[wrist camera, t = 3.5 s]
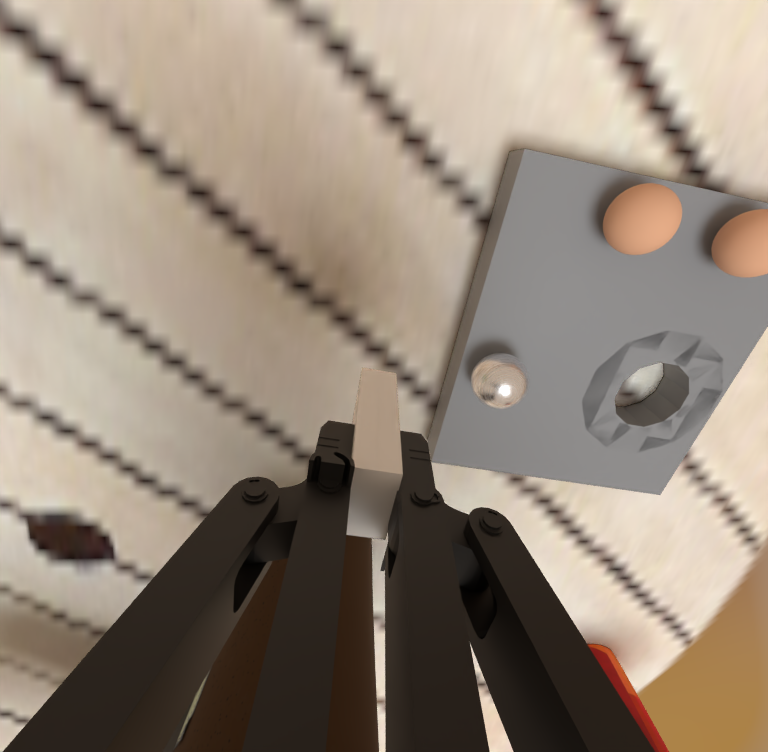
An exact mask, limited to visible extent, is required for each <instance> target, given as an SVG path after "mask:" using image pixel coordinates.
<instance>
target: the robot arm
mask: <svg viewBox="0 0 768 752" xmlns="http://www.w3.org/2000/svg"><path fill="white" fill-rule="evenodd" d="M430 461H431V459H430V454H429V447H428V443H427V441H426V440H425V438H424V437H423V436H422V434H418V433H412V432H405V431H400V423H399V408H398V393H397V378H396V373H392V372H386V371H380V370H374V369H368V368H362V371H361V377H360V382H359V388H358V393H357V399H356V404H355V410H354V415H353V421H352V424H348V423H341V422H335V421H328V422H327V423H325V424H324V425H323V426H322V427H321V430H320V434H319V438H318V443H317V447H316V451H315V453H314V454H313V455H312V456H311V458H310V460H309V467H308V475H307V479H306V480H305V481H303V482H302V483H300V484H298V485H296V486H292V487H286V488H278V486H277V485H276V484H275V483H274V482H273V481H271V480H269V479H267V478H262V477H250V478H246V479H244V480H241V481H239V482H238V483H237V484H235V485H234V486H233V487H232V488H231V489H230V490H229V492H228V493H227V494H226V495H225V496H224V497H223V499H222V500H221V501H220V502H219V503H218V504H217V505H216V507H215V508H214V509H213V510H212V511H211V512H210V514H209V515H208V516H207V517H206V518H205V519H204V520H203V522H202V523H201V524H200V525H199V526H198V527H197V528H196V530H195V531H194V532H193V533H192V534H191V535H190V537H189V538H188V539H187V540H186V541H185V542H184V543H183V545H182V546H181V547H180V548H179V549H178V550H177V552H176V553H175V554H174V555H173V556H172V557H171V558H170V560H169V561H168V562H167V563H166V564H165V565H164V567H163V568H162V569H161V570H160V571H159V572H158V573H157V575H156V576H155V577H154V578H153V579H152V580H151V582H150V583H149V584H148V585H147V586H146V587H145V588H144V590H143V591H142V592H141V593H140V594H139V595H138V596H137V598H136V599H135V600H134V601H133V602H132V603H131V605H130V606H129V607H128V608H127V609H126V610H125V611H124V613H123V614H122V615H121V616H120V617H119V618H118V620H117V621H116V622H115V623H114V624H113V625H112V626H111V628H110V629H109V630H108V631H107V632H106V633H105V635H104V636H103V637H102V638H101V639H100V640H99V641H98V643H97V644H96V645H95V646H94V647H93V648H92V650H91V651H90V652H89V653H88V654H87V655H86V656H85V658H84V659H83V660H82V661H81V662H80V663H79V664H78V666H77V667H76V668H75V669H74V670H73V671H72V673H71V674H70V675H69V676H68V677H67V678H66V679H65V681H64V682H63V683H62V684H61V685H60V686H59V688H58V689H57V690H56V691H55V692H54V693H53V694H52V696H51V697H50V698H49V699H48V700H47V701H46V703H45V704H44V705H43V706H42V707H41V708H40V709H39V711H38V712H37V713H36V714H35V715H34V716H33V718H32V719H31V720H30V721H29V722H28V723H27V724H26V726H25V727H24V728H23V729H22V730H21V731H20V732H19V734H18V735H17V736H16V737H15V738H14V739H13V741H12V742H11V743H10V744H9V745H8V746H7V747H6V749H5V750H4V751H3V752H173V750H174V747H175V745H176V742H177V740H178V737H179V735H180V732H181V730H182V727H183V725H184V722H185V720H186V717H187V715H188V712H189V710H190V708H191V705H192V703H193V700H194V698H195V695H196V693H197V691H198V689H199V688H200V686H201V684H202V682H203V681H204V679H205V677H206V676H207V674H208V672H209V670H210V669H211V667H212V665H213V664H214V662H215V660H216V658H217V657H218V655H219V653H220V652H221V650H222V648H223V646H224V645H225V643H226V641H227V640H228V638H229V636H230V634H231V633H232V631H233V629H234V628H235V626H236V624H237V622H238V621H239V619H240V617H241V616H242V614H243V612H244V610H245V609H246V607H247V605H248V604H249V602H250V600H251V598H252V597H253V595H254V593H255V592H256V590H257V588H258V586H259V585H260V583H261V581H262V579H263V578H264V576H265V574H266V573H267V571H268V569H269V567H270V566H271V564H272V561H275V560H281V559H286V558H288V561H287V566H286V570H285V574H284V578H283V582H282V586H281V591H280V595H279V599H278V603H277V607H276V611H275V616H274V620H273V624H272V628H271V632H270V636H269V641H268V645H267V649H266V653H265V657H264V661H263V666H262V670H261V674H260V678H259V682H258V686H257V691H256V695H255V699H254V703H253V707H252V711H251V716H250V720H249V724H248V728H247V732H246V736H245V741H244V745H243V749H242V752H326V742H327V731H328V721H329V711H330V700H331V690H332V679H333V669H334V658H335V648H336V638H337V627H338V617H339V606H340V596H341V586H342V575H343V565H344V554H345V544H346V535H353V536H360V537H368V538H376V539H383V540H385V539H386V536H387V532H388V544H387V548H386V552H385V555H384V559H383V563H382V567H381V571H384V570H385V696H386V752H489V746H488V741H487V735H486V730H485V724H484V719H483V713H482V708H481V702H480V697H479V691H478V686H477V680H476V675H475V669H474V664H473V658H472V653H471V647H470V643H471V646H472V648H473V651H474V654H475V656H476V659H477V661H478V664H479V666H480V669H481V671H482V674H483V676H484V679H485V681H486V684H487V686H488V689H489V691H490V694H491V696H492V699H493V701H494V704H495V706H496V709H497V711H498V714H499V716H500V719H501V721H502V724H503V726H504V729H505V731H506V734H507V736H508V739H509V741H510V744H511V746H512V749H513V751H514V752H655V750H654V749H653V747H652V746H651V744H650V743H649V741H648V739H647V738H646V736H645V735H644V733H643V731H642V730H641V728H640V727H639V725H638V724H637V722H636V720H635V719H634V717H633V716H632V714H631V713H630V711H629V709H628V708H627V706H626V705H625V703H624V701H623V700H622V698H621V697H620V695H619V694H618V692H617V690H616V689H615V687H614V686H613V684H612V683H611V681H610V679H609V678H608V676H607V675H606V673H605V671H604V670H603V668H602V667H601V665H600V664H599V662H598V660H597V659H596V657H595V656H594V654H593V653H592V651H591V649H590V648H589V646H588V645H587V643H586V642H585V640H584V638H583V637H582V635H581V634H580V632H579V630H578V629H577V627H576V626H575V624H574V623H573V621H572V619H571V618H570V616H569V615H568V613H567V612H566V610H565V608H564V607H563V605H562V604H561V602H560V600H559V599H558V597H557V596H556V594H555V593H554V591H553V589H552V588H551V586H550V585H549V583H548V582H547V580H546V578H545V577H544V575H543V574H542V572H541V570H540V569H539V567H538V566H537V564H536V563H535V561H534V559H533V558H532V556H531V555H530V553H529V552H528V550H527V548H526V547H525V545H524V544H523V542H522V540H521V539H520V537H519V536H518V534H517V533H516V531H515V529H514V528H513V526H512V525H511V523H510V522H509V521H508V520H507V519H506V517H505V516H503V515H502V514H500V513H499V512H497V511H495V510H492V509H490V508H483V507H480V508H476V509H474V510H473V511H472V512H470V514H469V515H468V514H465V513H463V512H460V511H458V510H456V509H453V508H451V507H450V506H448V505H447V504H445V503H444V500H443V498H442V495H441V494H440V493H439V492H438V491H437V490H436V489H435V483H434V477H433V471H432V465H431V462H430ZM469 641H470V642H469Z"/></svg>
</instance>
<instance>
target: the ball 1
mask: <svg viewBox="0 0 768 752" xmlns="http://www.w3.org/2000/svg"><path fill="white" fill-rule="evenodd" d="M471 386H472V390H473V392H474V394H475V396H476V397H477V398H478V400H479V401H480V402H482V403H483V404H484V405H486V406H488V407H491V408H495V409H506V408H510V407H512V406H514V405H516V404H518V403H519V402H520V401H521V400H522V399H523V398H524V397H525V395H526V393H527V391H528V388H529V375H528V371H527V369H526V367H525V366H524V364H523V363H522V362H521V361H520V360H519V359H518V358H516V357H514V356H512V355H510V354H506V353H494V354H491V355H488V356H486V357H484V358H483V359H481V360H480V361H479V362H478V363H477V365H476V366H475V368H474V370H473V372H472V376H471Z"/></svg>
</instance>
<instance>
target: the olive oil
mask: <svg viewBox="0 0 768 752" xmlns="http://www.w3.org/2000/svg"><path fill="white" fill-rule="evenodd" d="M287 561H288V558H286V559H281V560H275V561H272V564H271V566H270V567H269V569H268V571H267V573H266V574H265V576H264V578H263V579H262V581H261V583H260V585H259V586H258V588H257V590H256V592H255V593H254V595H253V597H252V598H251V600H250V602H249V604H248V605H247V607H246V609H245V610H244V612H243V614H242V616H241V617H240V619H239V621H238V622H237V624H236V626H235V628H234V629H233V631H232V633H231V634H230V636H229V638H228V640H227V641H226V643H225V645H224V646H223V648H222V650H221V652H220V653H219V655H218V657H217V658H216V660H215V662H214V664H213V665H212V667H211V669H210V670H209V672H208V674H207V676H206V677H205V679H204V681H203V682H202V684H201V686H200V688H199V689H198V691H197V693H196V695H195V698H194V700H193V703H192V705H191V708H190V710H189V712H188V715H187V717H186V720H185V722H184V725H183V727H182V730H181V732H180V735H179V737H178V740H177V742H176V745H175V747H174V750H173V752H242V749H243V745H244V741H245V736H246V732H247V728H248V724H249V720H250V716H251V711H252V707H253V703H254V699H255V695H256V691H257V686H258V682H259V678H260V674H261V670H262V666H263V661H264V657H265V653H266V649H267V645H268V641H269V636H270V632H271V628H272V624H273V620H274V616H275V611H276V607H277V603H278V599H279V595H280V591H281V586H282V582H283V578H284V574H285V570H286V566H287ZM326 752H379V742H378V720H377V698H376V675H375V649H374V621H373V589H372V541H371V538H368V537H360V536H353V535H346V544H345V554H344V565H343V575H342V586H341V596H340V606H339V617H338V627H337V638H336V648H335V658H334V669H333V679H332V690H331V700H330V711H329V721H328V731H327V742H326Z"/></svg>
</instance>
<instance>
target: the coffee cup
mask: <svg viewBox="0 0 768 752" xmlns="http://www.w3.org/2000/svg"><path fill="white" fill-rule="evenodd" d="M587 645H588V646H589V648H590V649H591V651H592V653H593V654H594V656H595V657H596V659H597V660H598V662H599V664H600V665H601V667H602V668H603V670H604V671H605V673H606V675H607V676H608V678H609V679H610V681H611V683H612V684H613V686H614V687H615V689H616V690H617V692H618V694H619V695H620V697H621V698H622V700H623V701H624V703H625V705H626V706H627V708H628V709H629V711H630V713H631V714H632V716H633V717H634V719H635V720H636V722H637V724H638V725H639V727H640V728H641V730H642V731H643V733H644V735H645V736H646V738H647V739H648V741H649V743H650V744H651V746H652V747H653V749H654V750H655V752H669V751H668V749H667V747H666V745H665V744H664V742H663V740H662V738H661V737H660V735H659V733H658V731H657V729H656V727H655V726H654V724H653V722H652V720H651V719H650V717H649V715H648V713H647V711H646V710H645V708H644V706H643V704H642V702H641V701H640V699H639V697H638V695H637V693H636V692H635V690H634V688H633V686H632V685H631V683H630V681H629V679H628V677H627V676H626V674H625V672H624V670H623V669H622V667H621V665H620V664H619V662H618V660H617V659H616V657H615V655H614V654H613V652H612V651H611V650H610V649H609V648H607V647H605V646H602V645H597V644H587Z"/></svg>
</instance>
